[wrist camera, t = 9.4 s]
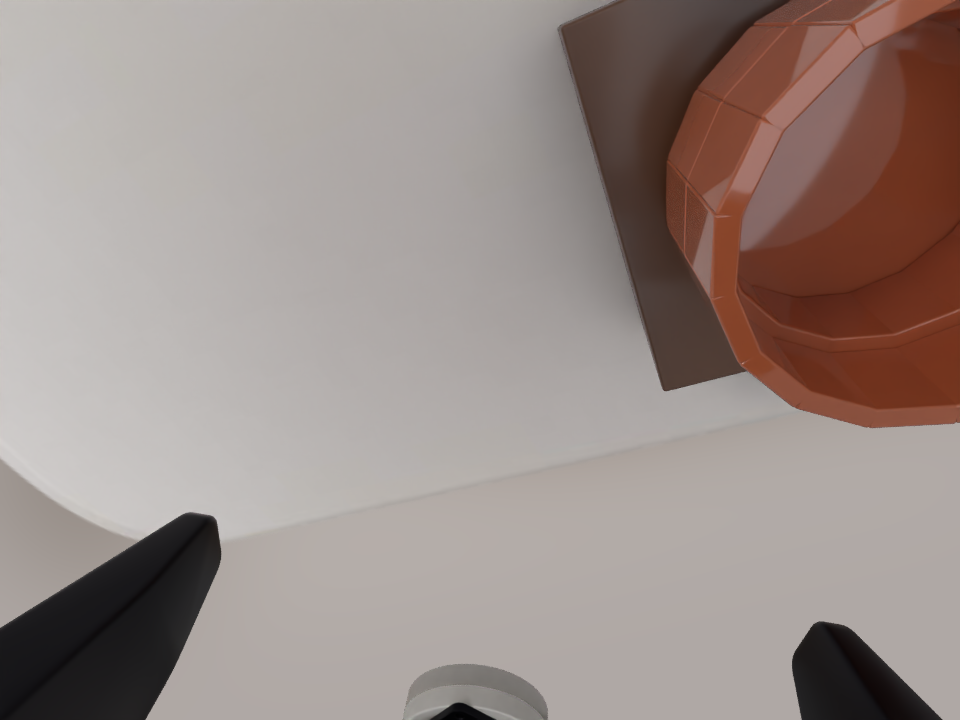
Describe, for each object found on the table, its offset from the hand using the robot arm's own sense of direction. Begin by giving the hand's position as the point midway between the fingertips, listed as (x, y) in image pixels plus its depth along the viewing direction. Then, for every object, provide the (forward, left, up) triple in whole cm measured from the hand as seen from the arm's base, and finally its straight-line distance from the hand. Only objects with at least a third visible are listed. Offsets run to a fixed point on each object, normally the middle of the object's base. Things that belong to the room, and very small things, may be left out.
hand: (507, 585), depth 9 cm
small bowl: (-2, -7, -7) cm, 11 cm away
